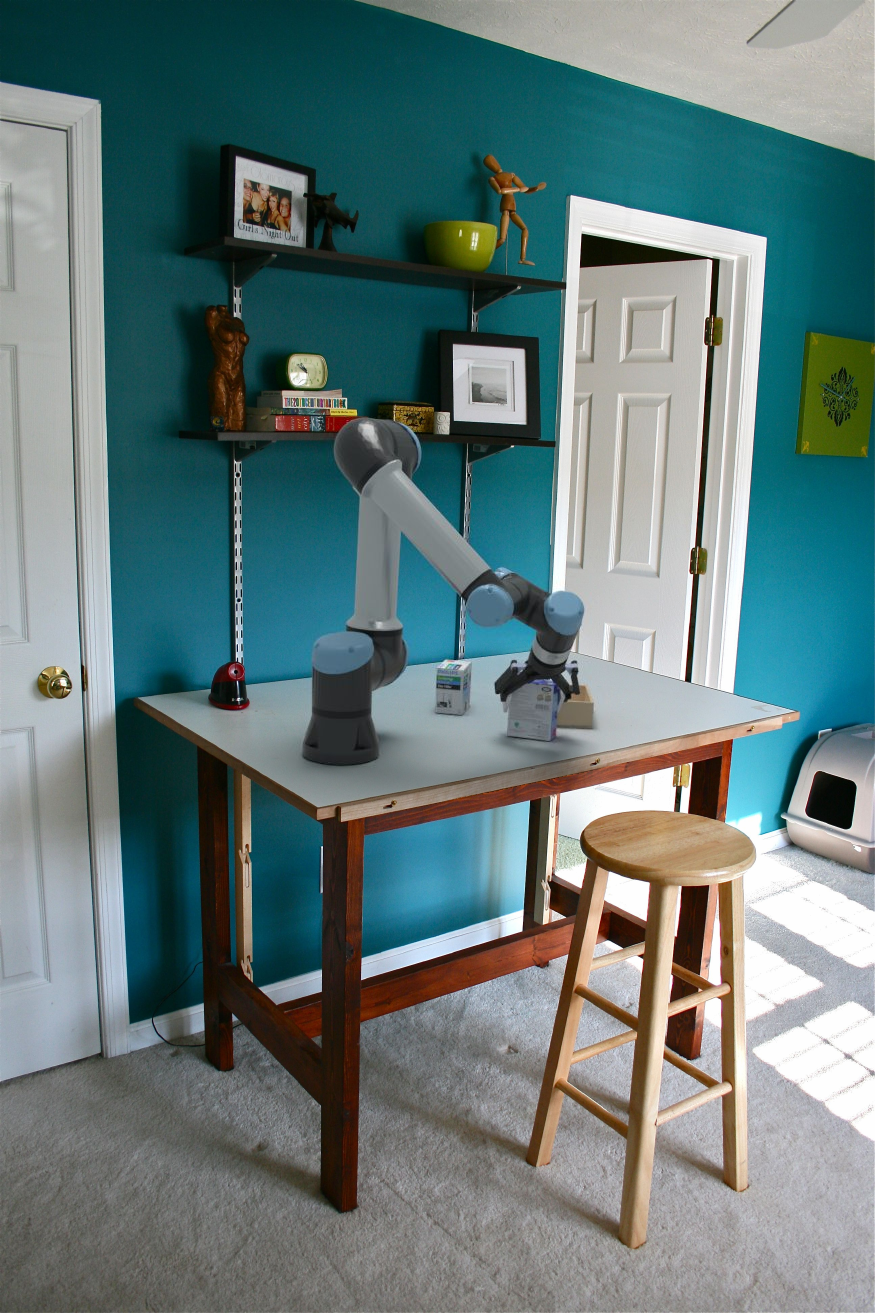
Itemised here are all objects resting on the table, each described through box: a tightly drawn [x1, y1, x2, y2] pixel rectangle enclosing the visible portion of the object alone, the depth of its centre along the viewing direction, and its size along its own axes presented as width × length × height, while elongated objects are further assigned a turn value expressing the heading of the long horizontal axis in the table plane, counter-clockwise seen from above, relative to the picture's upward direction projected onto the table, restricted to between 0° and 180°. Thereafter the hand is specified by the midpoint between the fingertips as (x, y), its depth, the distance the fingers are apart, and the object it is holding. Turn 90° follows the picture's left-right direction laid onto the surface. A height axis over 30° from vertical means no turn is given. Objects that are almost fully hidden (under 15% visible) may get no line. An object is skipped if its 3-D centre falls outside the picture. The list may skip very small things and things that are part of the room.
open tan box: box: [557, 683, 595, 730], centre depth 239 cm, size 15×39×6 cm, turn 176°
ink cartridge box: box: [506, 679, 559, 742], centre depth 211 cm, size 10×6×14 cm, turn 71°
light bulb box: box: [434, 659, 473, 716], centre depth 232 cm, size 11×7×11 cm, turn 168°
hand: (530, 707), depth 214 cm, fingers closed on ink cartridge box, 11 cm apart
